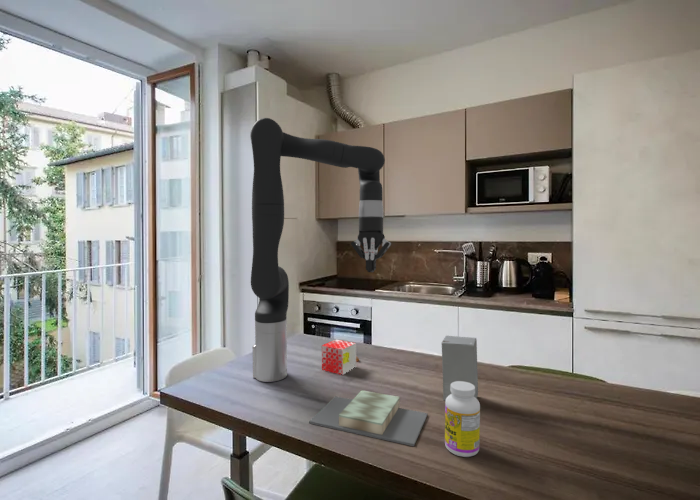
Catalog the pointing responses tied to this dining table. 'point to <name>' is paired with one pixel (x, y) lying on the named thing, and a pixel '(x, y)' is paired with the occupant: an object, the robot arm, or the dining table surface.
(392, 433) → the mat
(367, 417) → the board
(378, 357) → the dining table surface
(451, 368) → the skincare box
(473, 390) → the supplement bottle
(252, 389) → the dining table surface
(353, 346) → the red white patterned cube
